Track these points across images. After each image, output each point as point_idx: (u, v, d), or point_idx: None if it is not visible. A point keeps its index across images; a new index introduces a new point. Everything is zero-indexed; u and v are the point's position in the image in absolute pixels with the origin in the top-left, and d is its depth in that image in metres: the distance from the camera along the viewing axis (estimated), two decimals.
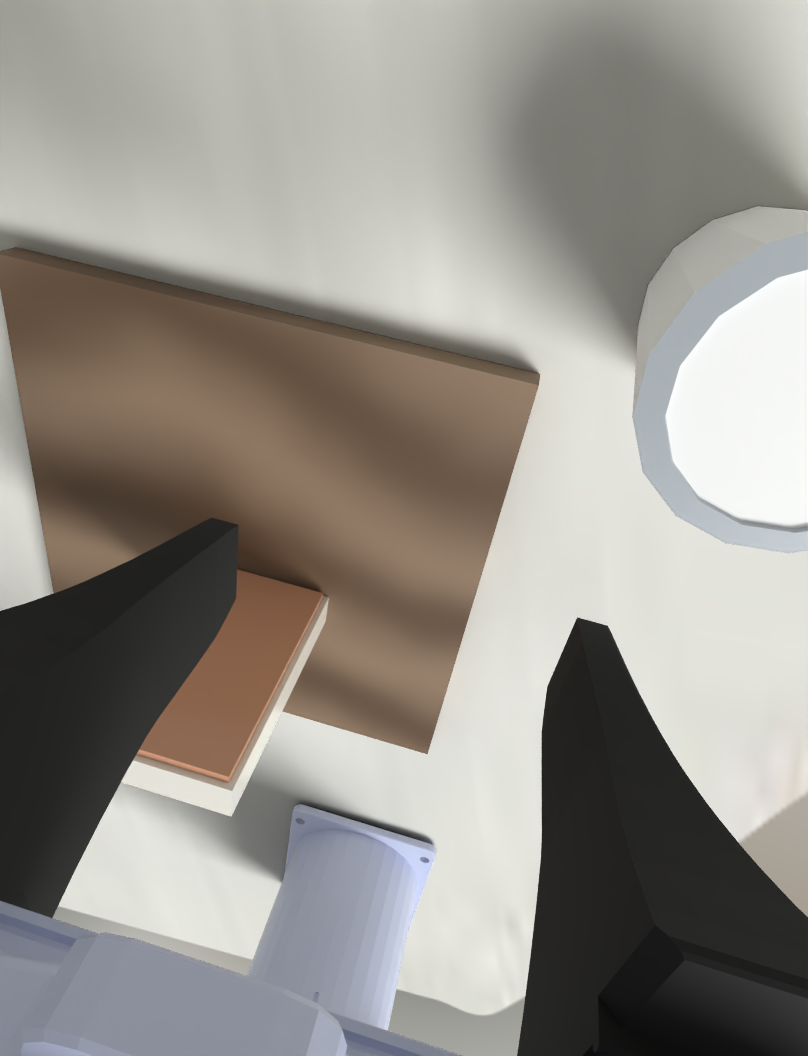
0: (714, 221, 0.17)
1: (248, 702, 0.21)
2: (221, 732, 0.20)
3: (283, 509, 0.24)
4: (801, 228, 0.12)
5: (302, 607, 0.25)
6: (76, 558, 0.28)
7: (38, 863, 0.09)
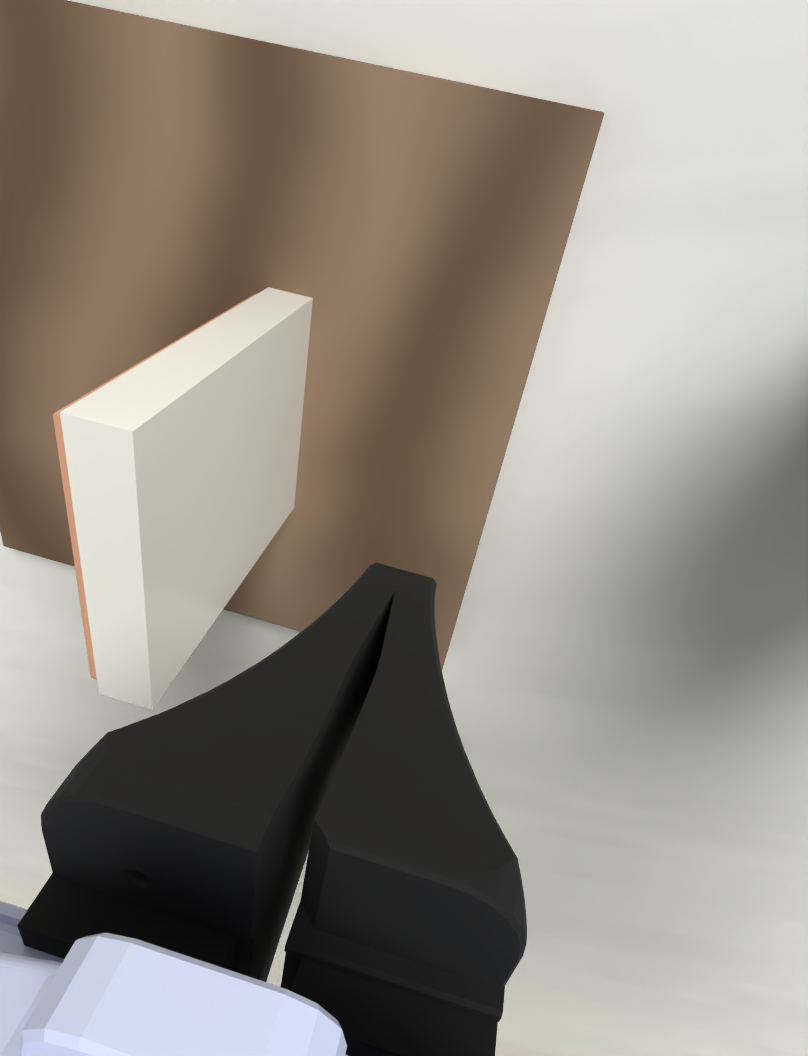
0: None
1: None
2: None
3: (152, 332, 0.20)
4: None
5: None
6: (297, 602, 0.24)
7: (269, 939, 0.09)
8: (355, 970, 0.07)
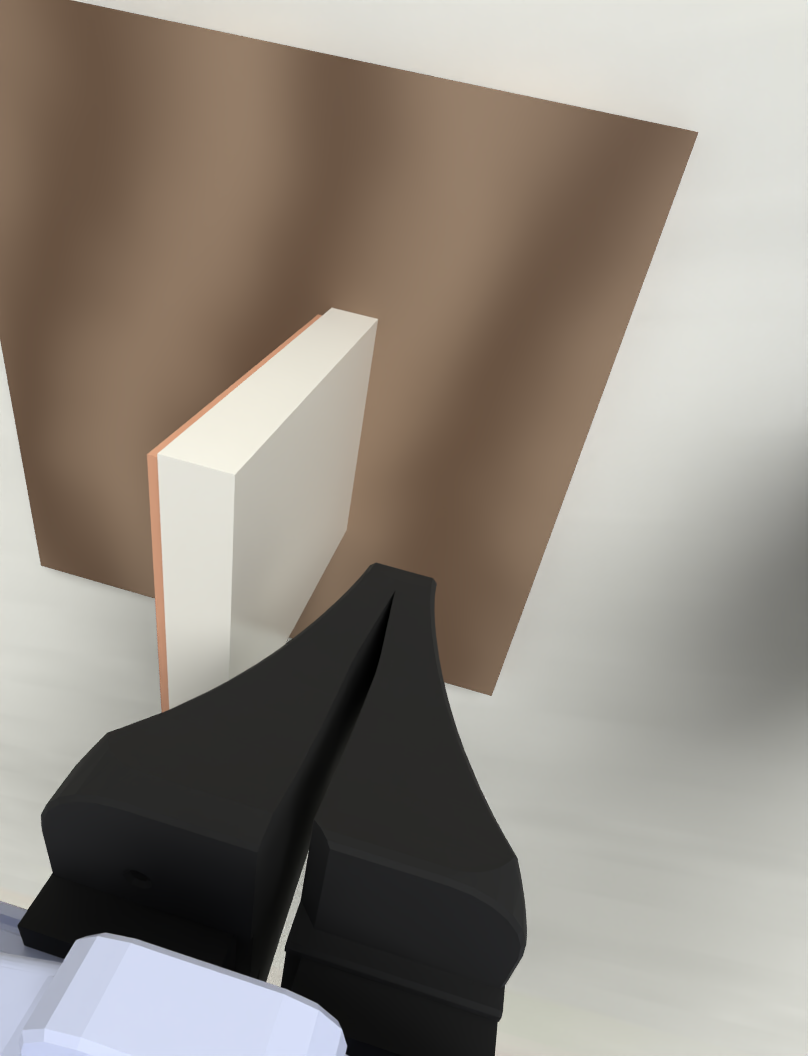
0: None
1: None
2: None
3: (207, 352, 0.19)
4: None
5: None
6: None
7: (269, 939, 0.09)
8: (356, 970, 0.07)
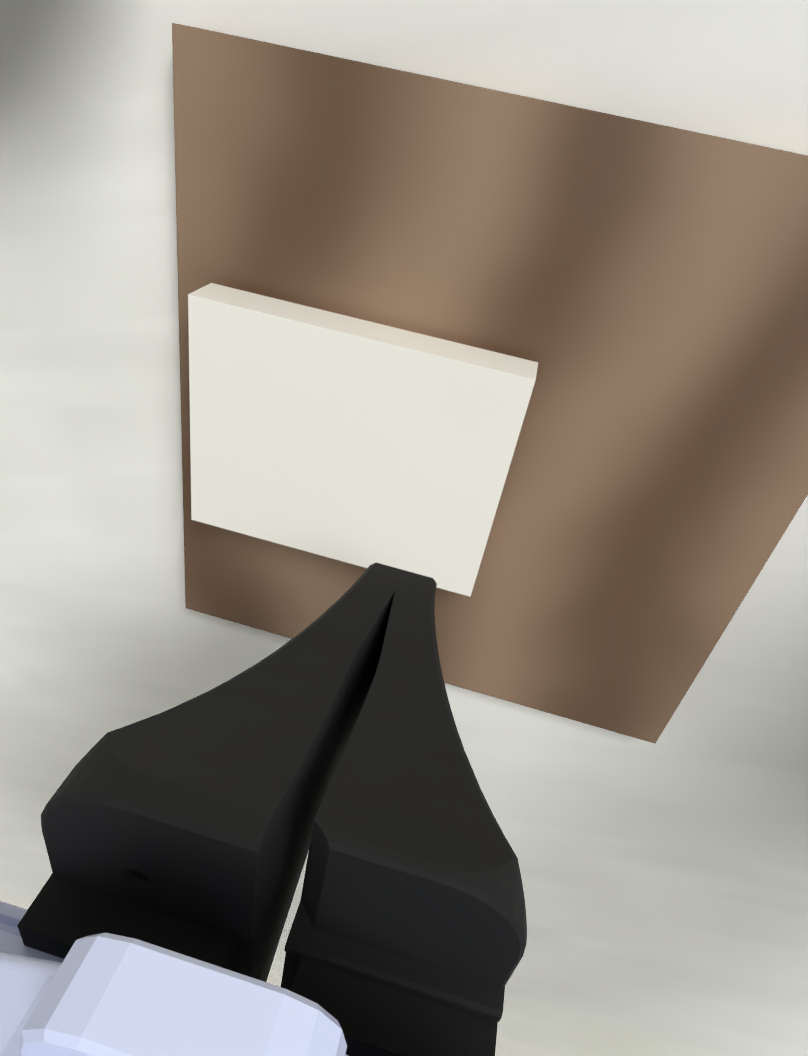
0: None
1: None
2: None
3: None
4: None
5: None
6: (506, 671, 0.23)
7: (269, 939, 0.09)
8: (355, 970, 0.07)
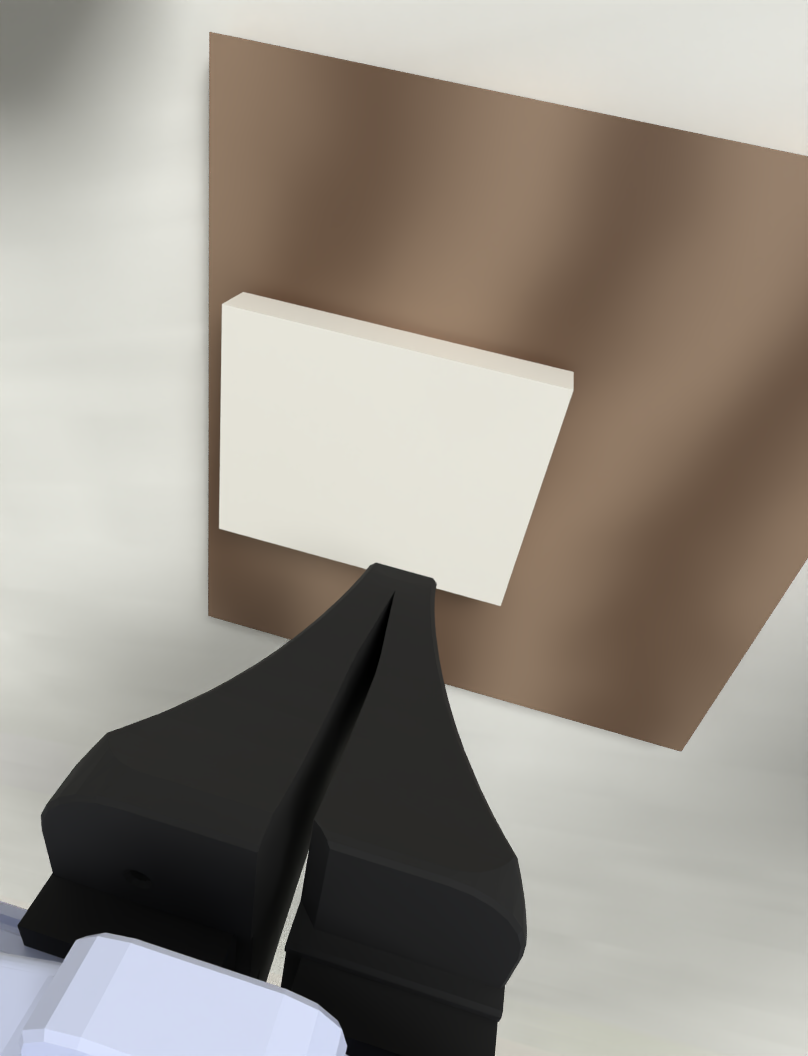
0: None
1: None
2: None
3: None
4: None
5: None
6: (532, 679, 0.23)
7: (269, 939, 0.09)
8: (356, 970, 0.07)
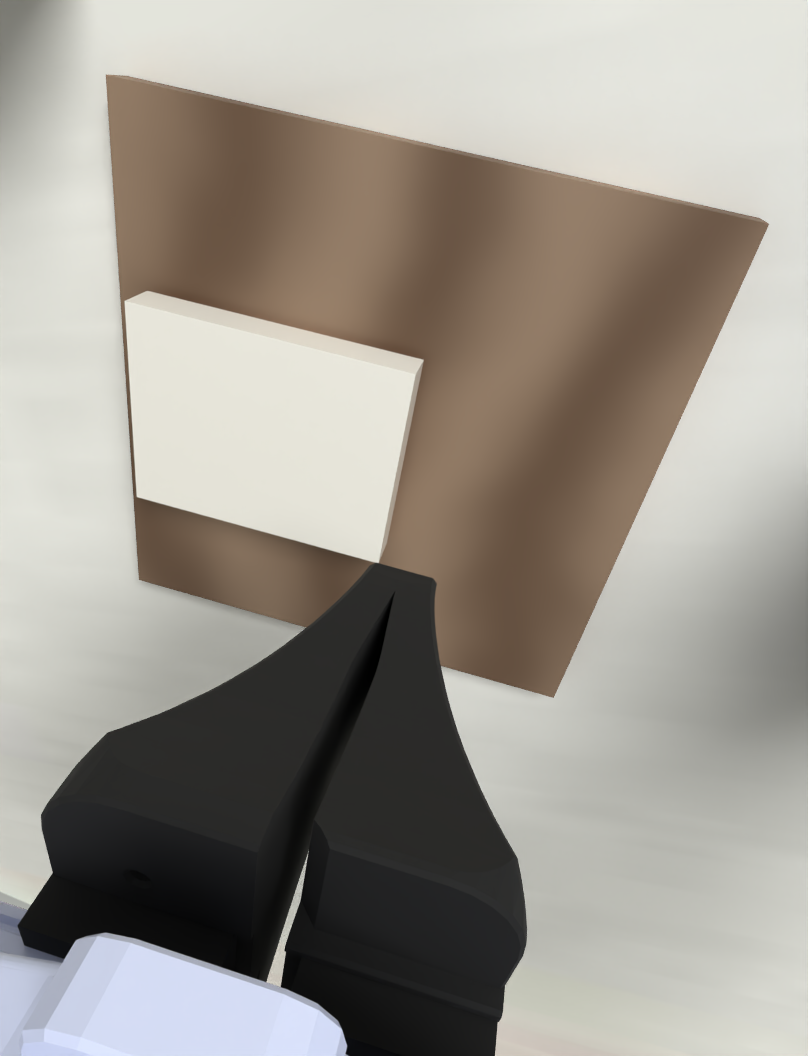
0: None
1: None
2: None
3: None
4: None
5: None
6: None
7: (270, 939, 0.09)
8: (356, 970, 0.07)
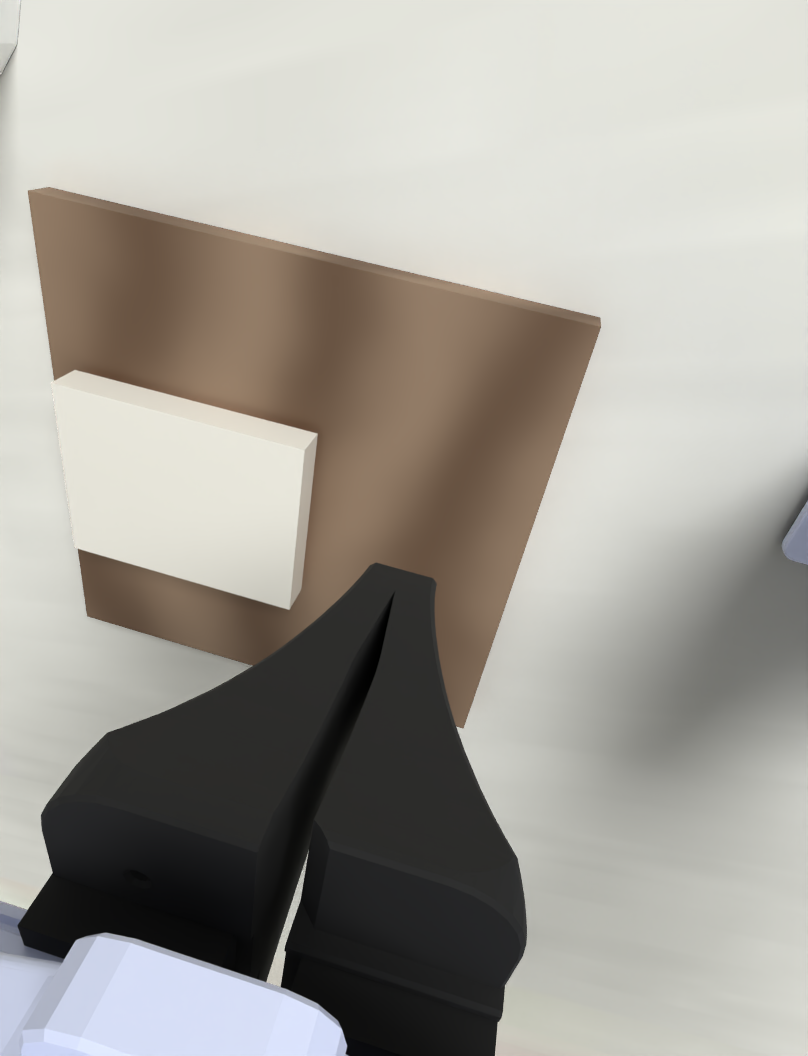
0: None
1: None
2: None
3: None
4: None
5: None
6: None
7: (270, 939, 0.09)
8: (356, 970, 0.07)
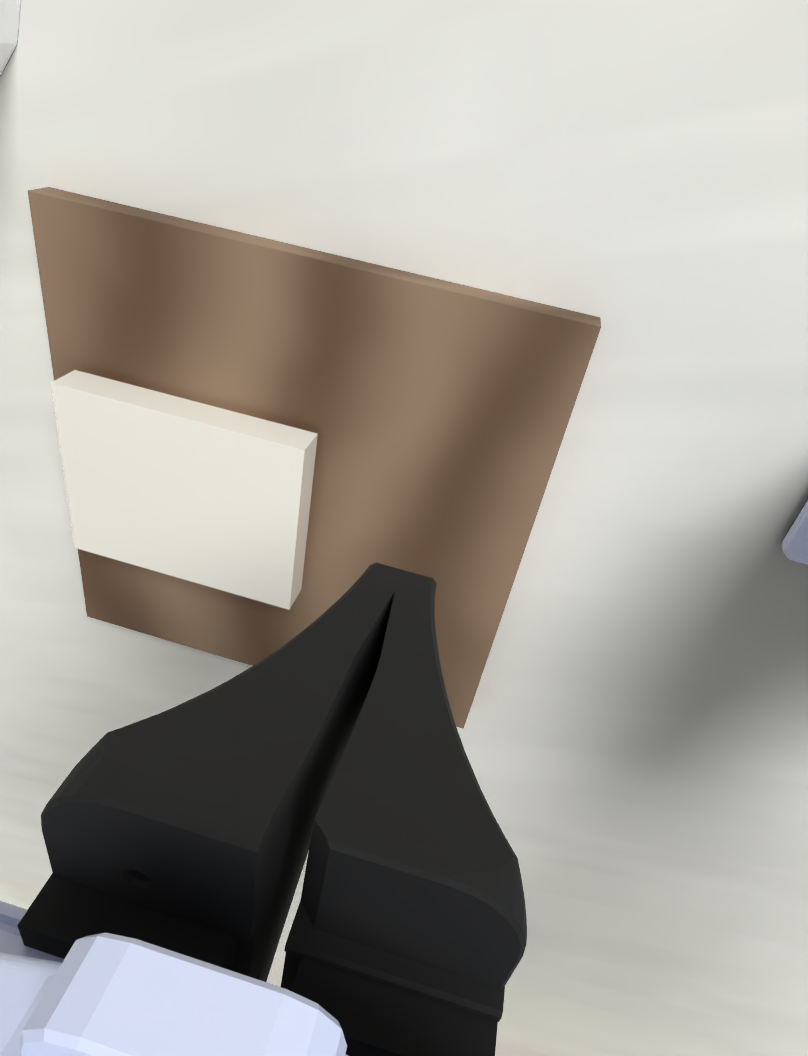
0: None
1: None
2: None
3: None
4: None
5: None
6: None
7: (270, 939, 0.09)
8: (356, 970, 0.07)
